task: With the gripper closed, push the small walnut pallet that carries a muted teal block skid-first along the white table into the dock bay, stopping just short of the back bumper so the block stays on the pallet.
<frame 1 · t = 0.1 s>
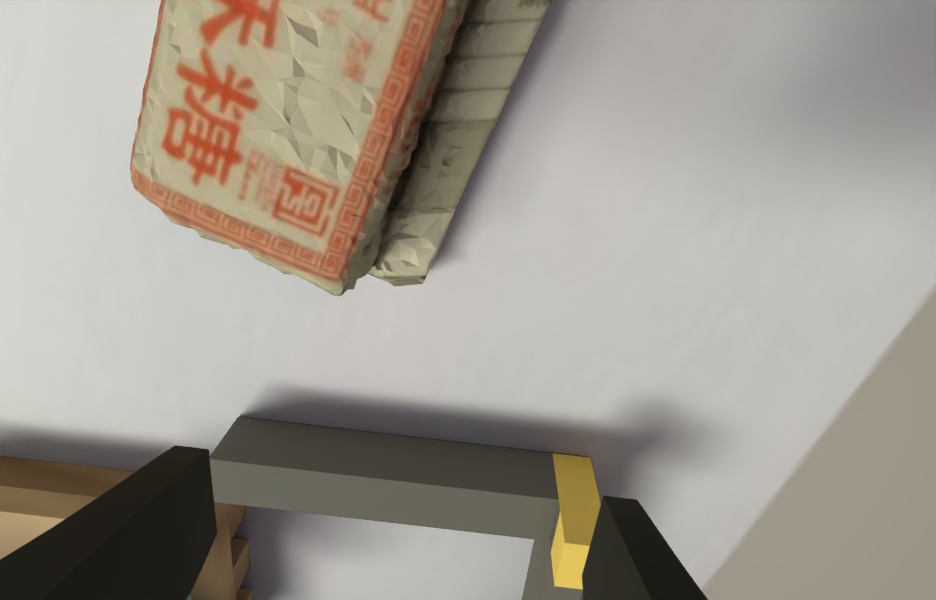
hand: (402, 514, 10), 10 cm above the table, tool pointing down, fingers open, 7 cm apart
dock: (403, 571, 25), on the table
pallet: (120, 533, 25), on the table, touching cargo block
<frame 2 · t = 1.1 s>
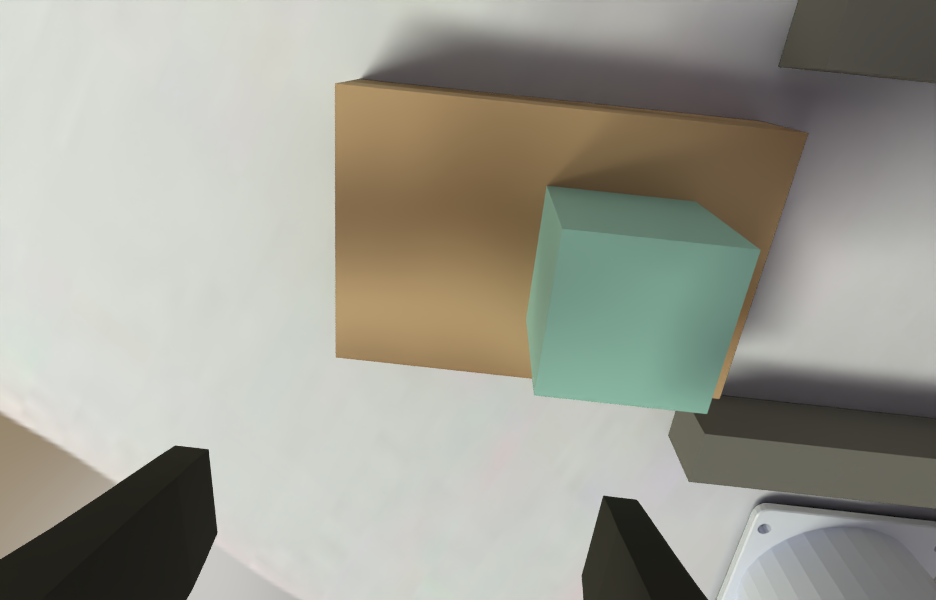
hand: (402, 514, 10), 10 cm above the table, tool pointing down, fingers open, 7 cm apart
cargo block: (606, 263, 16), point 3 cm above the table
pallet: (539, 226, 18), on the table
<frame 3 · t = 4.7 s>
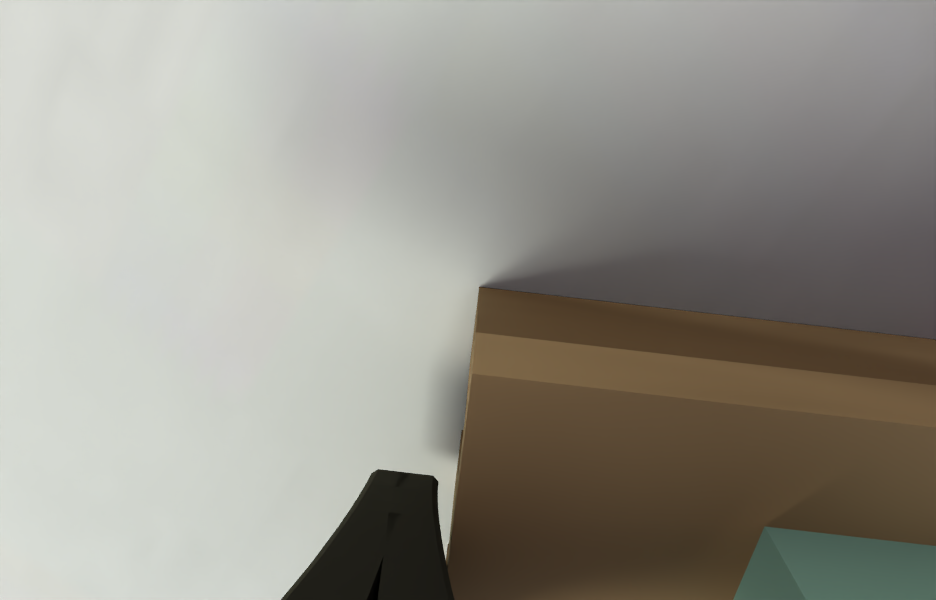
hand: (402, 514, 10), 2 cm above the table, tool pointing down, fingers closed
pallet: (741, 493, 12), on the table, touching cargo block, gripper
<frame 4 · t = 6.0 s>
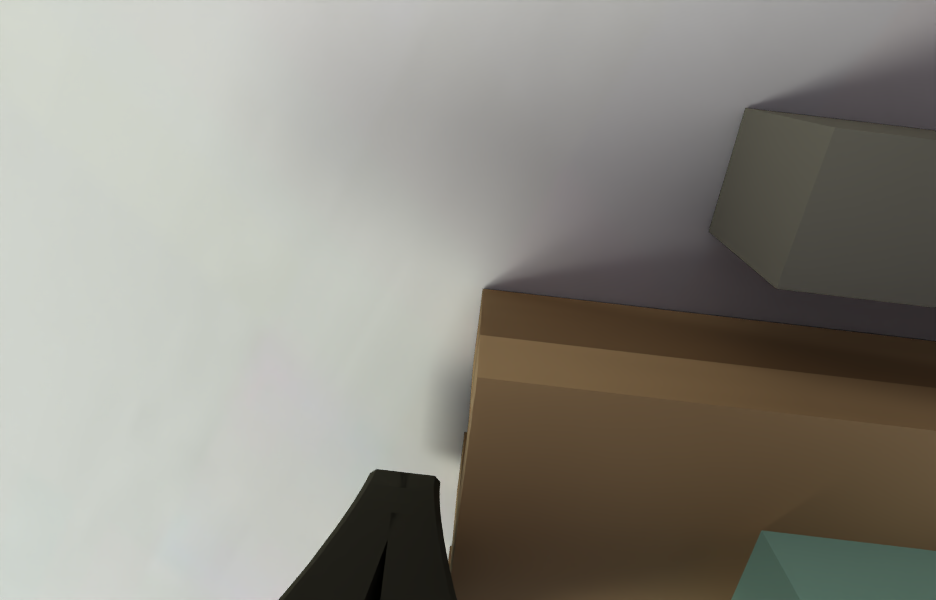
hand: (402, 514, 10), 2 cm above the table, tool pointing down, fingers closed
pallet: (744, 496, 12), on the table, touching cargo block, gripper
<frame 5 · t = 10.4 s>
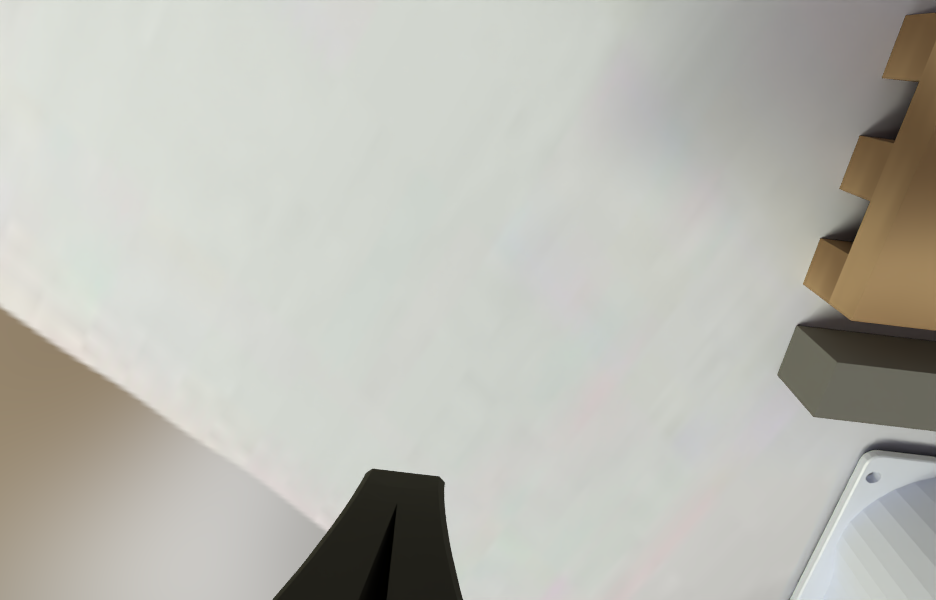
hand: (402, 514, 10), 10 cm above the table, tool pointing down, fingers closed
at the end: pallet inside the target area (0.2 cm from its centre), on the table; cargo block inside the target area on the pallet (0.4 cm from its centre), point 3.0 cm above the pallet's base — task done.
